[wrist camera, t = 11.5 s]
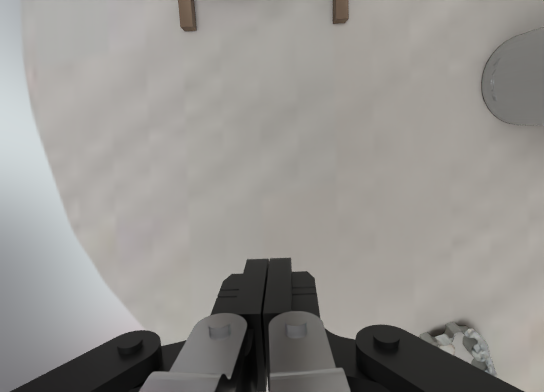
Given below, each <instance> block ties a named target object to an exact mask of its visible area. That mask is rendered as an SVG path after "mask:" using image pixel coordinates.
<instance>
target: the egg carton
mask: <svg viewBox="0 0 544 392" xmlns="http://www.w3.org/2000/svg"><path fill="white" fill-rule="evenodd" d="M459 332H462V333H463V334H464V335H465V336H464V337H463V345H464V346H465V348H466V349H467V350H468V351H469V352H470V354H471V355H472V356H473V357H474V359H473V360H472V365H473V366H475V367H477V368H479V369H481V370H483V371H485V372H487V373H489V374H491V375H493V376H495V377H496V376H497V374H496V371H495V368H494V366H493V362H492V359H491V357H490V353H489V349H488V345H487V343H486V341H485V340H484V339H483V338H482V337H481V336H480V335H479V334H478V333H477V332H475V330H474V329H469V328H468V327H467V326H458V325H456V324H455V323H454V322H451V323H448V324H446V330H445V332H444V333H443V334H442V335H439V336H436V337H433V336H431V335H429V334H428V332H426V333H423V334H421V335H420V338H421V339H423V340H425V341H427V342H428V343H430V344H432V345H434V346H436V347H437V346H438V345H439V347H438V348H440V349H442V350H444V351H446V352H448V353H450V354H452V355H454V353H455V347H454V346H453V345H452V344H450V343H451V342H452V341H453V339H454V337H455V334H456V333H459Z"/></svg>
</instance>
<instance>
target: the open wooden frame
mask: <svg viewBox="0 0 544 392" xmlns="http://www.w3.org/2000/svg"><path fill="white" fill-rule="evenodd" d="M178 4H179V15H180V26H181V28H182V29H183V30H184V31H196V19H195V7H194V0H178ZM347 20H348V0H333V24H337V23H345V22H346V21H347Z"/></svg>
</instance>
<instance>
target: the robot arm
mask: <svg viewBox="0 0 544 392" xmlns="http://www.w3.org/2000/svg"><path fill="white" fill-rule="evenodd" d="M482 93H483V96H484V100H485V102H486V104H487V106H488V108H489V109H490V111H491V112H492V113H493V114H494V115H495V116H496V117H498V118H499V119H501V120H502V121H505V122H507V123H510V124H516V125H542V126H544V27H542V28H539V29H536V30H533V31H530V32H527V33H524V34H521V35H518V36H515V37H513V38H511V39H509V40H507V41H506V42H505V43H503V44H502V45H501V46H499V47H498V49H497V50H496V51H495V52H494V53H493V54H492V56H491V57H490V59H489V61H488V62H487V64H486V67H485V70H484V73H483V79H482ZM267 377H268V390H269V392H524V391H522V390H520V389H518V388H516V387H514V386H512V385H510V384H508V383H506V382H504V381H502V380H500V379H499V378H497V377H495V376H493V375H491V374H489V373H487V372H485V371H483V370H481V369H479V368H477V367H475V366H473V365H471V364H469V363H467V362H465V361H463V360H462V359H460V358H458V357H456V356H454V355H452V354H450V353H448V352H446V351H444V350H442V349H440V348H438V347H436V346H434V345H432V344H430V343H428V342H427V341H425V340H423V339H421V338H419V337H417V336H415V335H413V334H411V333H409V332H407V331H405V330H403V329H401V328H398V327H394V326H390V325H372V326H368V327H365V328H363V329H362V330H360V331H359V332H358V333H357V335H356V340H354V339H349V338H344V337H340V336H337V335H335V334H332V333H331V332H329V331H328V330H326V329H325V328H324V325H323V322H322V320H321V319H320V313H319V306H318V299H317V293H316V286H315V279H314V277H313V276H312V275H311V274H309V273H308V272H307V271H303V272H292V267H291V258H272V259H270V261H269V259H247V261H246V265H245V269H244V273H243V274H231V275H230V276H229V277H228V278H227V279H225V280H224V281H223V283H222V286H221V288H220V291H219V294H218V298H217V299H216V302H215V305H214V307H213V310H212V313H211V315H210V316H208V317H206V318H204V319H202V320H200V321H199V322H198V323H197V324H196V325H195V326H194V328H193V330H192V332H191V333H190V335H189V337H188V339H187V340H185V341H182V342H178V343H174V344H169V345H165V346H161V341H160V337H159V336H158V335H157V334H156V333H154V332H151V331H145V330H143V331H142V330H140V331H133V332H128V333H125V334H122V335H120V336H118V337H116V338H114V339H112V340H110V341H108V342H106V343H104V344H102V345H100V346H98V347H96V348H94V349H92V350H90V351H88V352H86V353H84V354H83V355H81V356H79V357H77V358H75V359H73V360H71V361H69V362H67V363H65V364H63V365H61V366H59V367H57V368H55V369H53V370H51V371H49V372H47V373H46V374H44V375H42V376H40V377H38V378H36V379H34V380H32V381H30V382H28V383H26V384H24V385H22V386H20V387H18V388H16V389H14V390H12V391H10V392H266V386H267Z"/></svg>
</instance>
